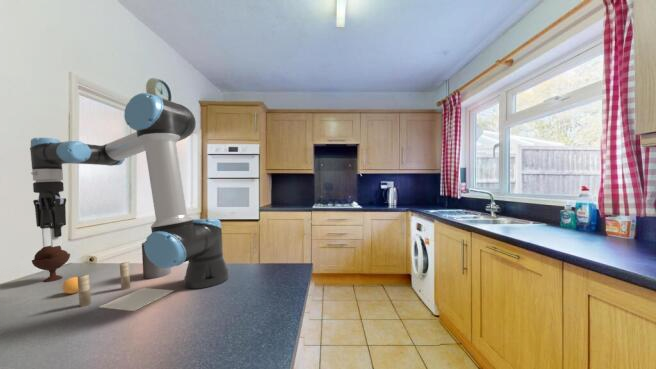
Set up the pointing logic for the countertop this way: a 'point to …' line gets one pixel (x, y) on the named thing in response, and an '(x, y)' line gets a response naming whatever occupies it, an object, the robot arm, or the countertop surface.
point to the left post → (84, 290)
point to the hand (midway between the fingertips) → (52, 245)
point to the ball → (71, 285)
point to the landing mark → (136, 299)
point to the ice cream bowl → (51, 261)
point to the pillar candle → (152, 268)
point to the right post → (125, 275)
